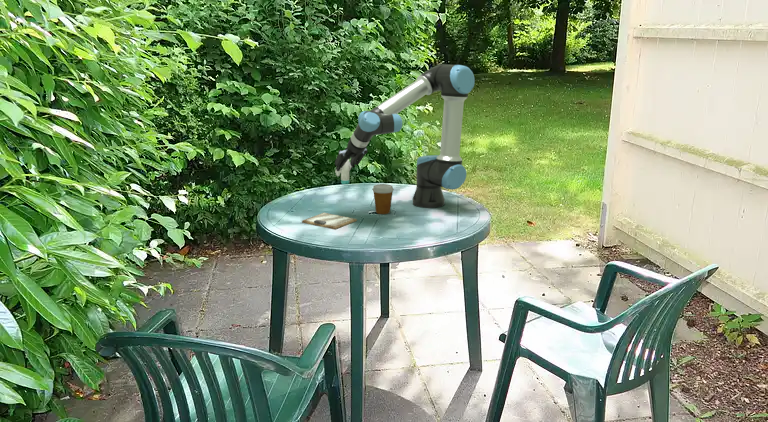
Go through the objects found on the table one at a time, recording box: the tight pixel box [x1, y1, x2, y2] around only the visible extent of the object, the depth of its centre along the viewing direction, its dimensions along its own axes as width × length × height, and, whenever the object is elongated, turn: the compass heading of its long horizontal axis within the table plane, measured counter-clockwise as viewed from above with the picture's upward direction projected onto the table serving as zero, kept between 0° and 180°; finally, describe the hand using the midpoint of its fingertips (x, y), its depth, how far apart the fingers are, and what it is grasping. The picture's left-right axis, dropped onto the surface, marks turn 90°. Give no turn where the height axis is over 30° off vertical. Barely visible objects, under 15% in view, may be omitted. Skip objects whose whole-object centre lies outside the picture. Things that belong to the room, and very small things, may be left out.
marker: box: [340, 159, 350, 185], centre depth 272 cm, size 4×4×13 cm
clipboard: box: [301, 212, 358, 230], centre depth 266 cm, size 18×15×2 cm
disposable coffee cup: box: [372, 183, 395, 215], centre depth 279 cm, size 10×10×12 cm
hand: (341, 173), depth 276 cm, fingers closed on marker, 3 cm apart
